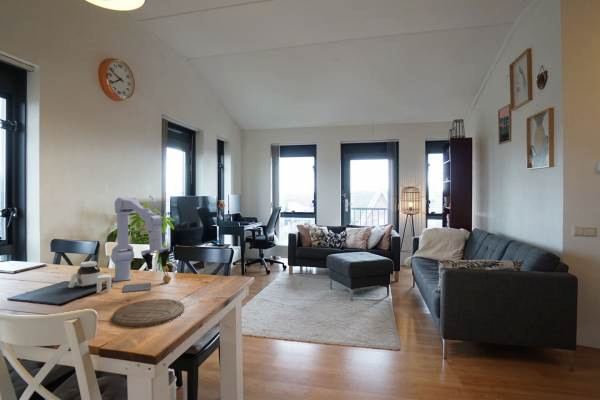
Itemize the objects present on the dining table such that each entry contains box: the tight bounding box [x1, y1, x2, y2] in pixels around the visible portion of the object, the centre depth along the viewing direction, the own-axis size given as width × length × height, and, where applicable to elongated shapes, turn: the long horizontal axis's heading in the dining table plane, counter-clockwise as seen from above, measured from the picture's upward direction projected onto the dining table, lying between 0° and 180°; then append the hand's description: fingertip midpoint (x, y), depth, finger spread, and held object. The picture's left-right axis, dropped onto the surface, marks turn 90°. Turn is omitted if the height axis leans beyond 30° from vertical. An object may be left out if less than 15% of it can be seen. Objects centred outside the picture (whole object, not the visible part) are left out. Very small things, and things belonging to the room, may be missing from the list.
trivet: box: [112, 298, 185, 328], centre depth 122 cm, size 25×25×2 cm
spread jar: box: [68, 260, 101, 289], centre depth 154 cm, size 12×11×12 cm
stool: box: [96, 274, 112, 294], centre depth 148 cm, size 5×5×7 cm
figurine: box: [157, 261, 173, 284], centre depth 165 cm, size 8×6×12 cm
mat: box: [121, 282, 152, 294], centre depth 154 cm, size 12×12×1 cm
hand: (157, 267), depth 153 cm, fingers open, 7 cm apart
